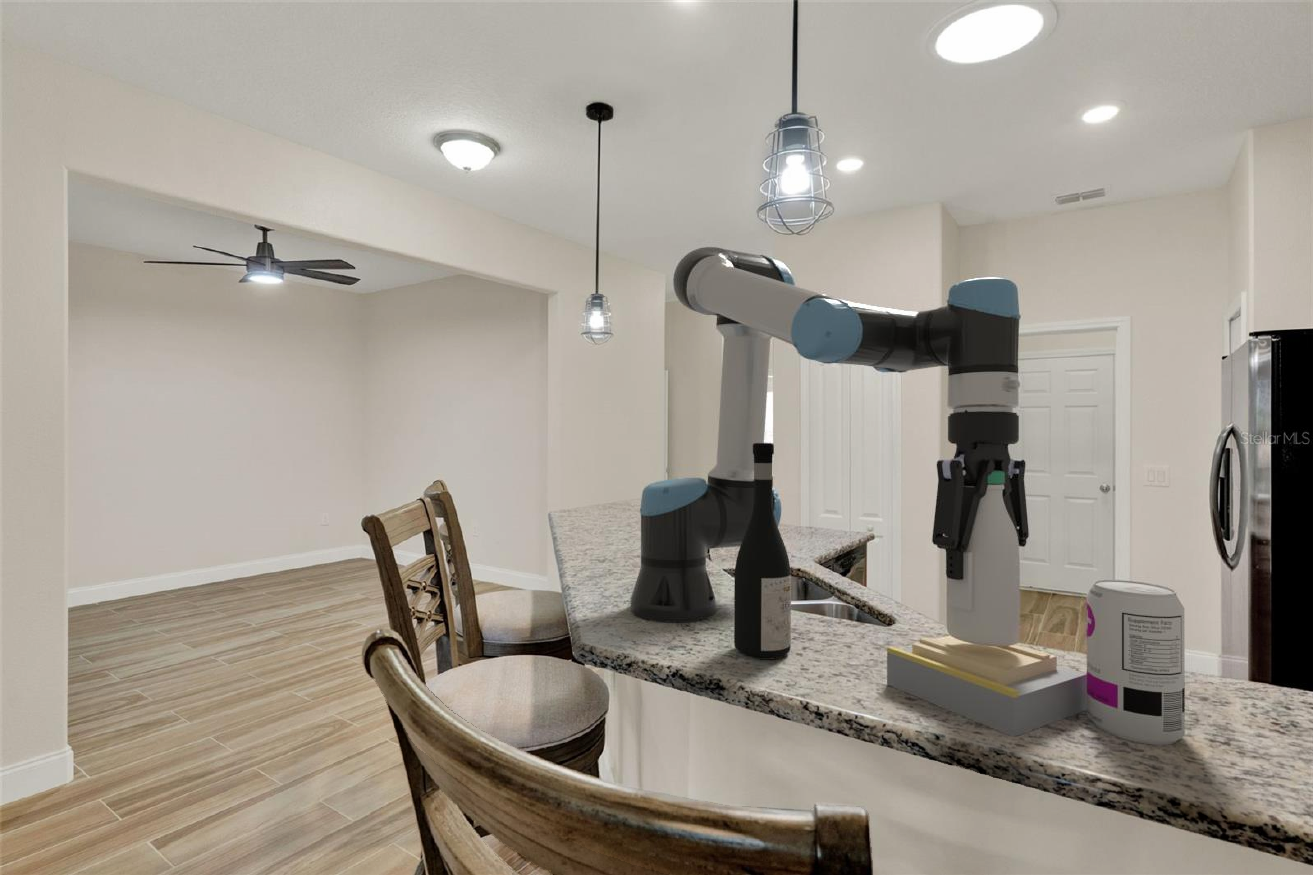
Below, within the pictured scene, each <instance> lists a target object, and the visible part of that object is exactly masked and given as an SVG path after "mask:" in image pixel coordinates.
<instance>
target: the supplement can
mask: <svg viewBox="0 0 1313 875" xmlns="http://www.w3.org/2000/svg"><path fill="white" fill-rule="evenodd" d="M1092 582H1093V585H1092V586H1091V587H1090V589H1089V591H1088V592H1087V594H1086V674H1087V710H1086V715H1087V717H1088V718H1089V719H1090V720H1091V721H1092V722H1093V724H1094V725H1095V726H1096V727H1097V728H1098V729H1100V730H1102V731H1103V732H1105V733H1107V734H1110V735H1113V736H1115V737H1117V738H1120V739H1124V740H1127V741H1132V742H1135V743H1139V744H1147V745H1152V746H1153V745H1156V746H1158V745H1159V746H1168V745H1171V744H1175V743H1176V741H1179V740H1181V739H1182V738H1183V737H1185V734H1186V732H1185V731H1186V730H1185V728H1186V727H1185V726H1186V724H1185V722H1186V720H1185V719H1186V715H1185V714H1186V713H1185V712H1186V711H1185V710H1186V708H1185V707H1186V705H1185V704H1186V701H1185V700H1186V699H1185V698H1186V696H1185V695H1186V694H1185V692H1186V691H1185V684H1186V683H1185V682H1186V681H1185V679H1186V678H1185V670H1186V669H1185V654H1186V653H1185V650H1186V649H1185V607H1184V605H1183V603H1182V602H1181V601H1180V599H1179V597H1178V596H1177V591H1176V590H1175V589H1173V588H1170V587H1168V586H1164V585H1159V584H1154V583H1149V582H1143V581H1135V580H1125V579H1124V580H1122V579H1099V580H1094V581H1092Z"/></svg>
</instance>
